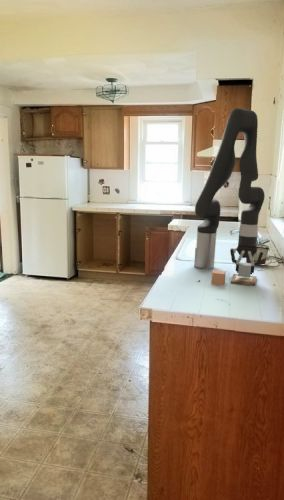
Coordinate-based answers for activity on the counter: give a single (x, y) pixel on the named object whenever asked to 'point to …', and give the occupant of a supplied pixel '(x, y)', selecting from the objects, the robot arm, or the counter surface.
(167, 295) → the counter surface
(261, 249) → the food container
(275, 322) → the counter surface
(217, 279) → the terracotta block
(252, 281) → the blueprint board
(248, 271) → the slate block
